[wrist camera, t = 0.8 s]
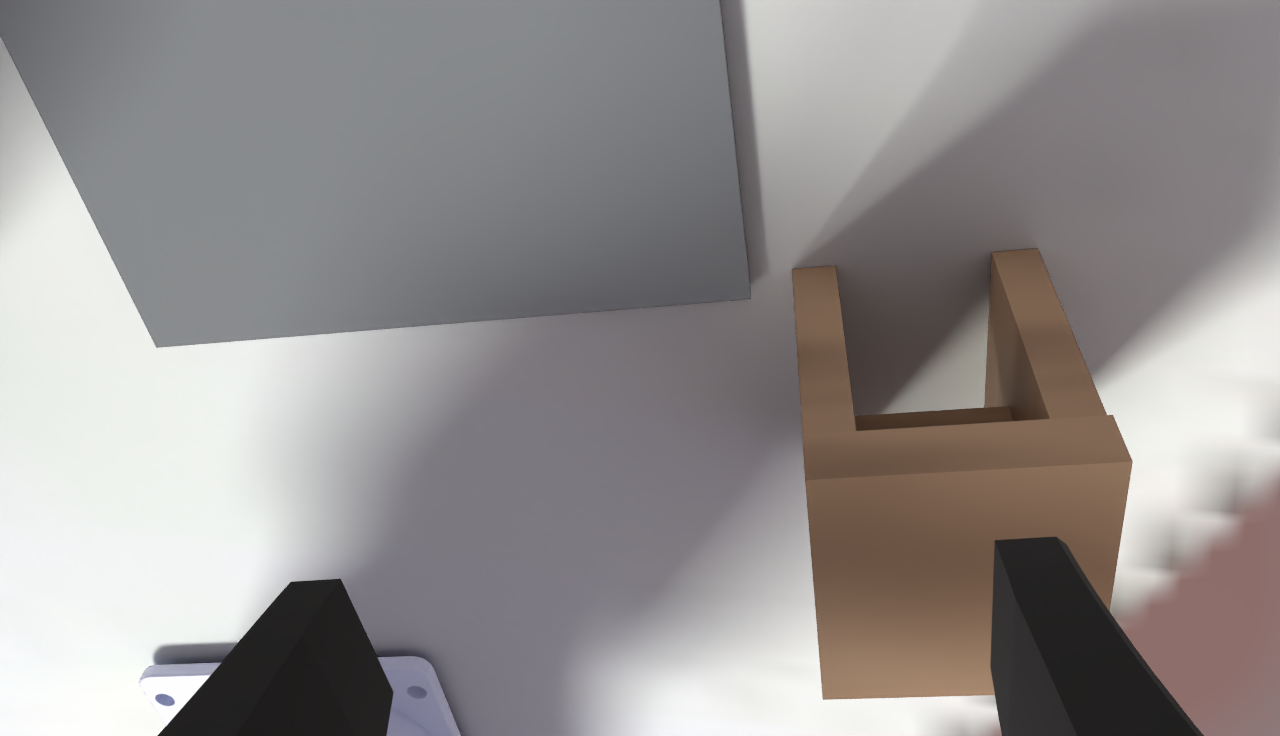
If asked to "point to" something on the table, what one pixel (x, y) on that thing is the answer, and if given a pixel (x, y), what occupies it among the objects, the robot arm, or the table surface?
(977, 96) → the table surface
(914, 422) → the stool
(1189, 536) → the table surface
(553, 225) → the mat
